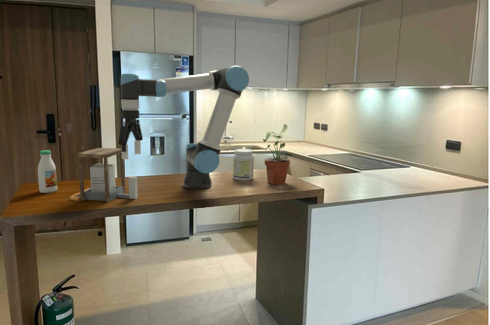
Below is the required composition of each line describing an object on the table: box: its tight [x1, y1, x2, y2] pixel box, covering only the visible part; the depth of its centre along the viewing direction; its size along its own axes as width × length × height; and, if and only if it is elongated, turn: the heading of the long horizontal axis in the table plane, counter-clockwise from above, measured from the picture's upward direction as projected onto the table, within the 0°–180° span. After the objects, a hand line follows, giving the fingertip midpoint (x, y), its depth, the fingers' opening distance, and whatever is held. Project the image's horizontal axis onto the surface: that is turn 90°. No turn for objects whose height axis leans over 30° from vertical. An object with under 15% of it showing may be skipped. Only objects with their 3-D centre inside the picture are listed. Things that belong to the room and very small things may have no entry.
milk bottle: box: [37, 149, 58, 194], centre depth 171 cm, size 8×8×20 cm
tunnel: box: [77, 147, 126, 203], centre depth 165 cm, size 13×18×22 cm
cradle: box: [84, 175, 139, 202], centre depth 165 cm, size 22×13×10 cm, turn 84°
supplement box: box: [89, 162, 117, 193], centre depth 166 cm, size 9×9×15 cm
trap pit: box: [68, 187, 91, 202], centre depth 168 cm, size 5×17×1 cm, turn 174°
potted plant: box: [262, 124, 291, 186], centre depth 198 cm, size 16×15×35 cm
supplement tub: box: [232, 148, 255, 182], centre depth 208 cm, size 12×12×17 cm
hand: (131, 156), depth 162 cm, fingers open, 13 cm apart
